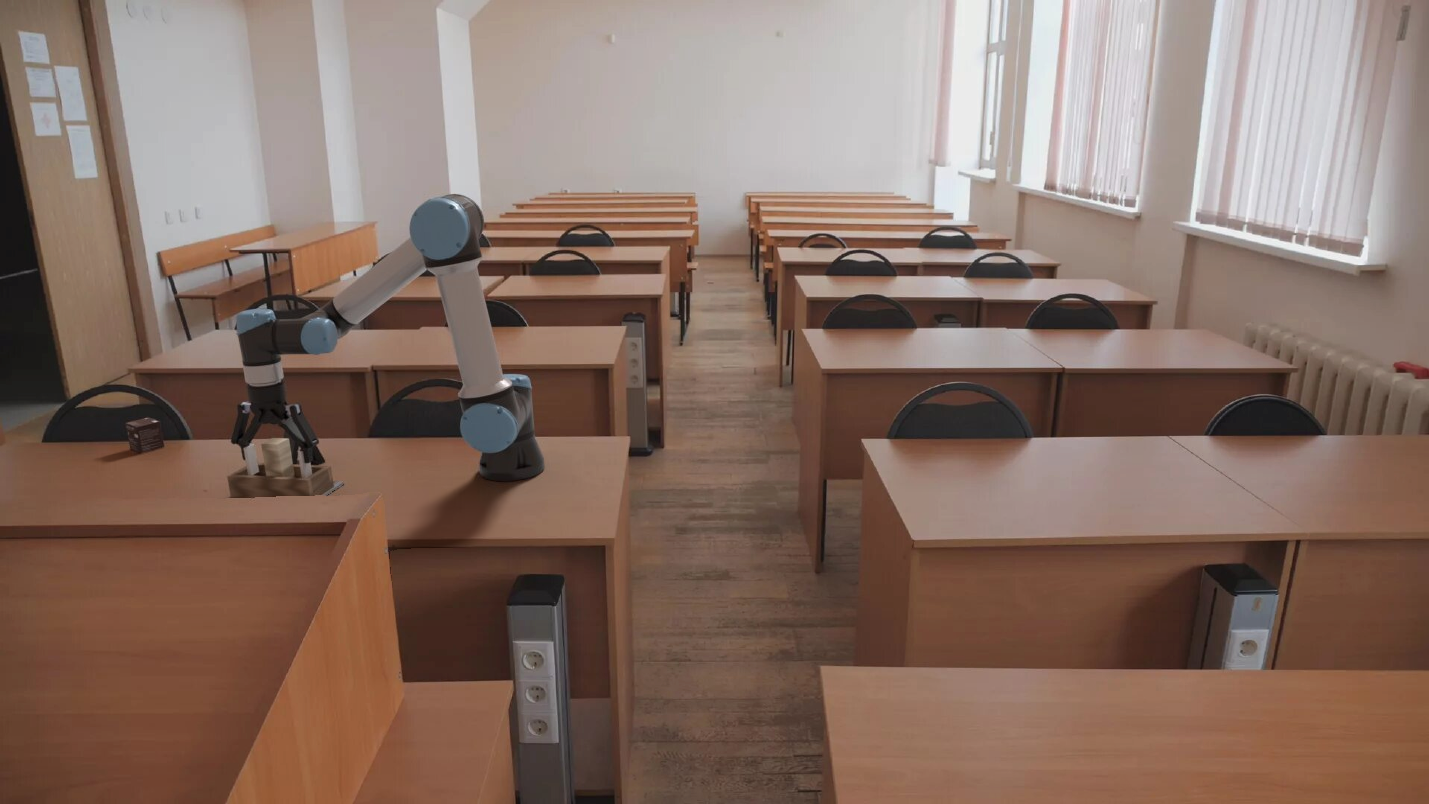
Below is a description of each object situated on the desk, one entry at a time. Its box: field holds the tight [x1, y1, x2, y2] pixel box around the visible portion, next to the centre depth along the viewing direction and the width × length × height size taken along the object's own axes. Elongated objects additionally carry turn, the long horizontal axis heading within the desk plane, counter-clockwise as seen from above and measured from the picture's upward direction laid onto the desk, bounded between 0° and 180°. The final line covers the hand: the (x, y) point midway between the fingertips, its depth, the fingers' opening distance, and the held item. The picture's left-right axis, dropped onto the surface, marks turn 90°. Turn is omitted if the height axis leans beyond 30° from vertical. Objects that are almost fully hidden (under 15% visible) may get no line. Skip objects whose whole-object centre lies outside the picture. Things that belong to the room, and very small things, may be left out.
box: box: [124, 416, 165, 454], centre depth 242 cm, size 6×6×7 cm
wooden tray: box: [226, 462, 345, 498], centre depth 208 cm, size 20×16×6 cm
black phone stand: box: [282, 419, 326, 466], centre depth 227 cm, size 9×6×12 cm, turn 138°
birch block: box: [260, 437, 295, 478], centre depth 207 cm, size 4×4×12 cm
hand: (280, 475), depth 208 cm, fingers open, 12 cm apart
